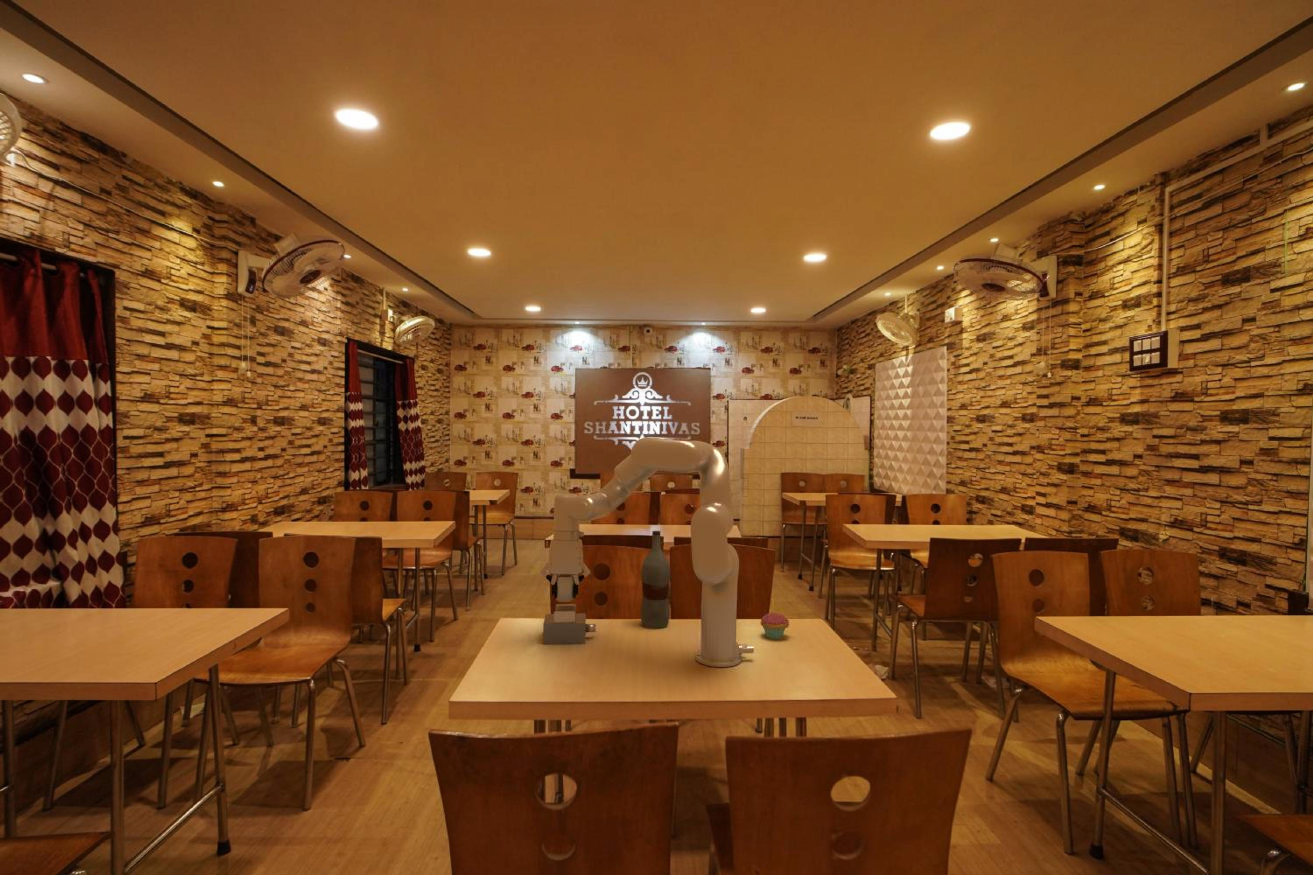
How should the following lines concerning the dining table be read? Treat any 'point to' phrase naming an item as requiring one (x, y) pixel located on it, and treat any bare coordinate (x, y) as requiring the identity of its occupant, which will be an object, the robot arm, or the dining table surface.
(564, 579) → the toy camera lens
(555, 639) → the box with side knob
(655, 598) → the bottle
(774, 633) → the cupcake
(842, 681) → the dining table surface
